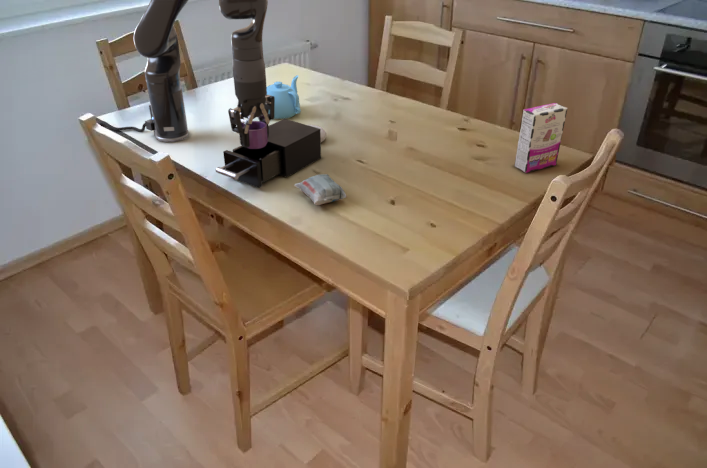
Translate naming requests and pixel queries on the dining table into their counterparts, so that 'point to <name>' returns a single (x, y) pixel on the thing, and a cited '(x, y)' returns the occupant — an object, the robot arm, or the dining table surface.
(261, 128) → the cup
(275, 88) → the teapot
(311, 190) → the packaged food
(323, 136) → the donut
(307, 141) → the cabinet
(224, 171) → the drawer
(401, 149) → the dining table surface
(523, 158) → the candy bar box
